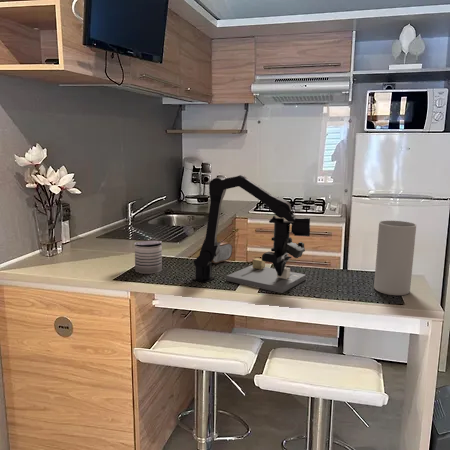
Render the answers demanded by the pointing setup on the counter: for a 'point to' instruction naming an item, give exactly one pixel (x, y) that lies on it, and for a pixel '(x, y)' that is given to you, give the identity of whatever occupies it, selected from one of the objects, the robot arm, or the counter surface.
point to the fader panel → (265, 279)
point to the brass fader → (258, 263)
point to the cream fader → (285, 273)
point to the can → (148, 257)
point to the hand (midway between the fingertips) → (279, 275)
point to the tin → (223, 252)
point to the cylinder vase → (394, 257)
